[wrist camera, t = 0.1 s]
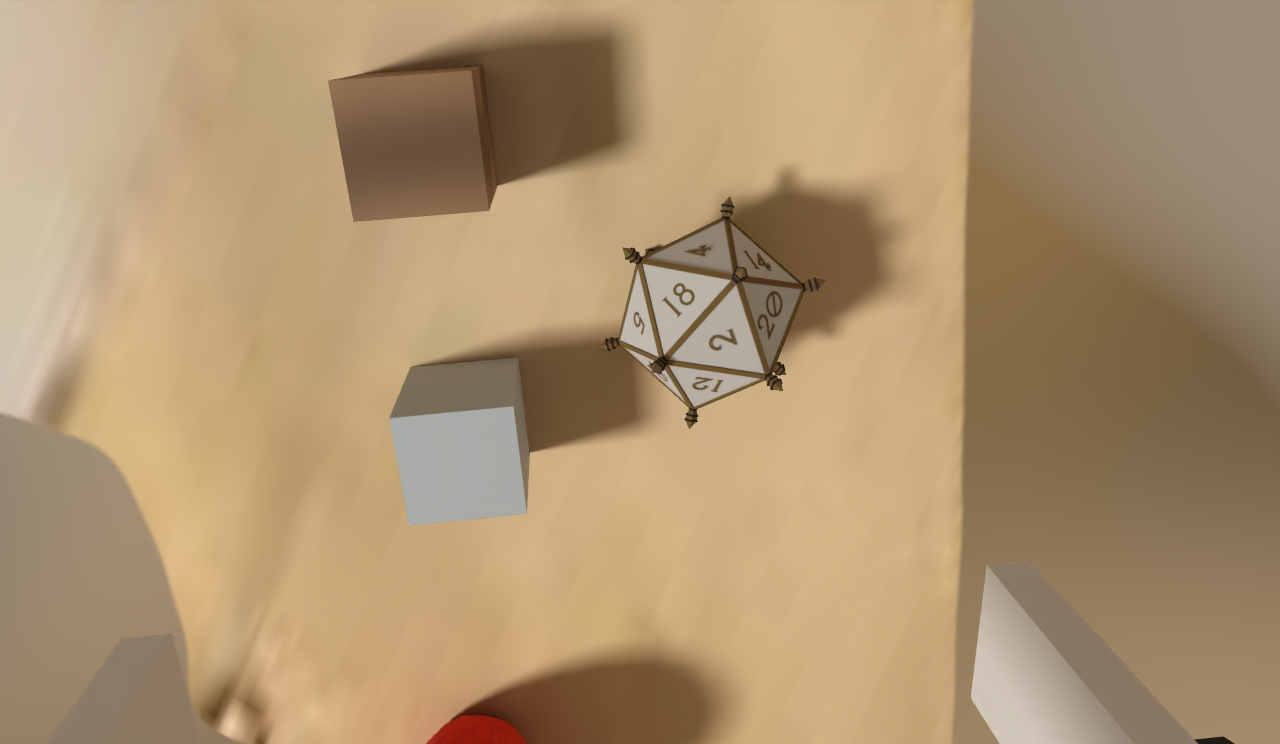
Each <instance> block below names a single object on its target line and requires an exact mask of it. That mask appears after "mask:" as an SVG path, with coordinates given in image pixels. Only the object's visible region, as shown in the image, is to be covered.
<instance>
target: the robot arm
mask: <svg viewBox="0 0 1280 744" xmlns="http://www.w3.org/2000/svg"><path fill="white" fill-rule="evenodd" d="M971 699H972V700H973V702H974V703H975V705H976V707H977V708H978V710H979V712H980V713H981V715H982V716H983V718H984V719H985V721H986V723H987V724H988V726H989V727H990V729H991V730H992V732H993V733H994V735H995V737H996V738H997V740H998V742H999V743H1000V744H1234V743H1232V742H1231V741H1230V740H1228V739H1226V738H1225V737H1214V738H1205V739H1195V740H1194V739H1193V738H1192V737H1191V736H1190V734H1189V733H1188V732H1187V731H1186V730H1185V729H1184V728H1183V727H1182V726H1181V725H1180V724H1179V723H1178V721H1177V720H1176V719H1175V718H1174V717H1173V716H1172V715H1171V714H1170V713H1169V711H1168V710H1167V709H1166V708H1165V707H1164V706H1163V705H1162V704H1161V703H1160V702H1159V701H1158V699H1157V698H1156V697H1155V696H1154V695H1153V694H1152V693H1151V692H1150V691H1149V690H1148V689H1147V687H1146V686H1145V685H1144V684H1143V683H1142V682H1141V681H1140V680H1139V679H1138V678H1137V676H1136V675H1135V674H1134V673H1133V672H1132V671H1131V670H1130V669H1129V668H1128V667H1127V666H1126V665H1125V663H1124V662H1123V661H1122V660H1121V659H1120V658H1119V657H1118V656H1117V655H1116V653H1115V652H1114V651H1113V650H1112V649H1111V648H1110V647H1109V646H1108V645H1107V644H1106V643H1105V641H1104V640H1103V639H1102V638H1101V637H1100V636H1099V635H1098V634H1097V633H1096V632H1095V631H1094V629H1093V628H1092V627H1091V626H1090V625H1089V624H1088V623H1087V622H1086V621H1085V620H1084V619H1083V617H1082V616H1081V615H1080V614H1079V613H1078V612H1077V611H1076V610H1075V609H1074V608H1073V606H1072V605H1071V604H1070V603H1069V602H1068V601H1067V600H1066V599H1065V598H1064V597H1063V596H1062V594H1061V593H1060V592H1059V591H1058V590H1057V589H1056V588H1055V587H1054V586H1053V585H1052V583H1051V582H1049V580H1048V579H1047V578H1046V577H1045V576H1044V575H1043V574H1042V573H1041V572H1040V570H1039V569H1038V568H1037V567H1036V566H1035V565H1034V564H1033V563H1032V562H1031V561H1028V562H1016V563H1004V564H992V565H987V568H986V577H985V585H984V594H983V602H982V610H981V618H980V627H979V635H978V643H977V651H976V661H975V669H974V678H973V685H972V693H971ZM46 744H202V743H201V739H200V735H199V732H198V728H197V724H196V721H195V716H194V713H193V709H192V705H191V701H190V698H189V694H188V690H187V686H186V683H185V679H184V675H183V671H182V668H181V664H180V661H179V656H178V653H177V649H176V645H175V642H174V638H173V634H165V635H155V636H154V635H153V636H142V637H130V638H121V640H120V641H119V643H118V644H117V645H116V647H115V648H114V649H113V651H112V652H111V654H110V655H109V656H108V658H107V659H106V661H105V662H104V663H103V665H102V666H101V668H100V669H99V670H98V672H97V673H96V675H95V676H94V677H93V679H92V680H91V682H90V683H89V684H88V686H87V687H86V689H85V690H84V691H83V693H82V694H81V696H80V697H79V698H78V700H77V701H76V703H75V704H74V705H73V707H72V708H71V710H70V711H69V712H68V714H67V715H66V717H65V718H64V719H63V721H62V722H61V724H60V725H59V726H58V728H57V729H56V731H55V732H54V734H53V735H52V736H51V738H50V739H49V740H48V742H47V743H46Z"/></svg>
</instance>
